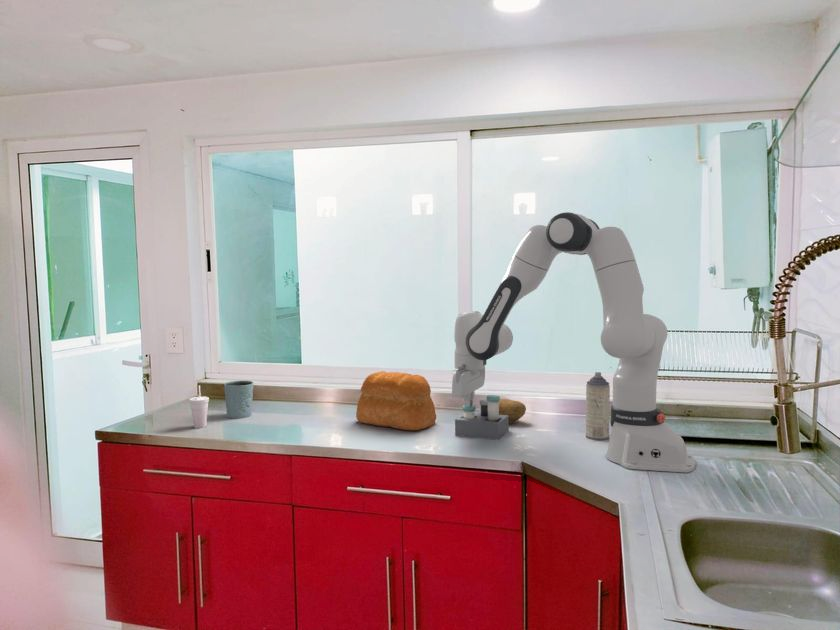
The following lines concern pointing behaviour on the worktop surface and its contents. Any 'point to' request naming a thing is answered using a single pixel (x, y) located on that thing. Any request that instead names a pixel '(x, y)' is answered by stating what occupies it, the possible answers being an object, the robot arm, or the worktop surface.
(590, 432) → the aerosol can
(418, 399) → the bread
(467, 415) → the white cylinder
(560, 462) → the worktop surface
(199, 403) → the smoothie
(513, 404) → the potato
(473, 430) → the mount
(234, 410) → the grey cup
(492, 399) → the white bottle teal cap
